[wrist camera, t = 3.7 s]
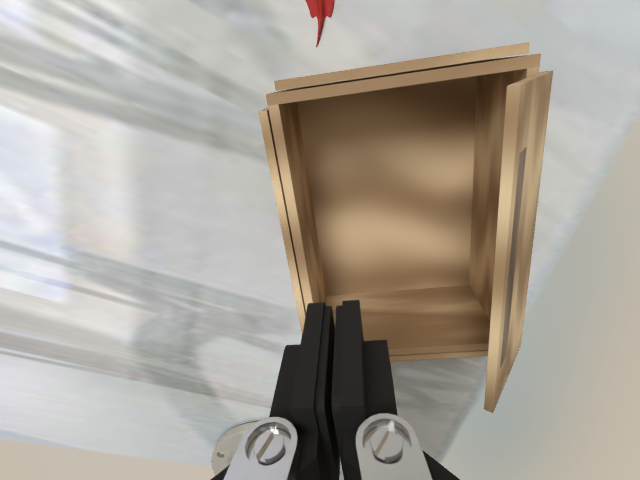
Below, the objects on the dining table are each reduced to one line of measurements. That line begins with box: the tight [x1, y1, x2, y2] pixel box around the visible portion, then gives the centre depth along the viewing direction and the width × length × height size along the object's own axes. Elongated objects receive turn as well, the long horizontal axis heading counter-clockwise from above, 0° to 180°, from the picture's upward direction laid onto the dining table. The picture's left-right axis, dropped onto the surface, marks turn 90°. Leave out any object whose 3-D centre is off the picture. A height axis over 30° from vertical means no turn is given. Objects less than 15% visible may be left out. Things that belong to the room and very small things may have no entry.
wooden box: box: [259, 43, 541, 361], centre depth 22 cm, size 17×13×7 cm
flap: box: [484, 71, 553, 413], centre depth 16 cm, size 15×1×6 cm
